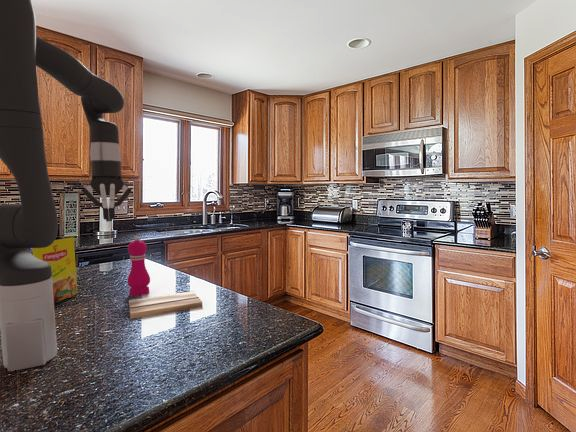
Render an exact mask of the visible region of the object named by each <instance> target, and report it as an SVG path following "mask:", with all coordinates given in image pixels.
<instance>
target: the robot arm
mask: <svg viewBox="0 0 576 432" xmlns="http://www.w3.org/2000/svg"><path fill="white" fill-rule="evenodd" d="M36 23H37V21H36V14H35V10H34V5H33V2H32V0H0V160H1V162H2V163H3V164H4V165H5V166H6V168H7V169H8V170H9V171H10V173H11V174H12V176H13V178H14V180H15V183H16V185H17V189H18V194H19V198H20V203H3V204H0V339H1V340H0V341H1V342H0V343H1V349H2V350H1V352H2V362H3V368H4V369H6V368H7V372H8V371H11V372H15V370H16V371H20V370H25V369H30V368H35V367H40V366H45V365H46V363H48V362H49V361H50V360H53V359H54V358H55V357H56V356H57V354H58V344H57V332H56V329H57V328H56V317H55V303H54V298H53V282H52V269H51V265H50V264H49V263H47V262H44V261H42V260H40V259H38V258H36V257H35V256H33V253H31V251H30V249H33V248H44V247H48V246H50V245H51V244H52V243H53V242H54V241H55V240H57V236H58V231H59V219H58V213H57V208H56V204H55V199H54V194H53V190H52V186H51V182H50V177H49V172H48V171H49V170H48V164H47V156H46V148H45V139H44V128H43V127H44V126H43V117H42V111H41V105H40V104H41V103H40V97H39V86H38V84H39V83H38V75H37V68H39V69H41V70H42V71H44V72H45V73H46V74H48V75H49V76H51V77H52V78H53V79H55V80H56V81H57V82H58V83H59V84H61V85H62V86H63V87H65V88H66V89H67V90H68V91H70V92H71V93H73V94H74V95H77V96H78V97H80V102H81V106H82V110H83V112H84V114H85V118H86V121H87V124H88V127H89V135H90V149H89V151H90V152H89V154H90V157H89V158H90V171H91V179H90V181H89V185H88V186H86V187H84V188H82V190H81V192H82V193H83V194H84V195H85V196H86V197H87V199H89V200H90V201H91V202H92V203H93V205H95V206H96V207H98V208H99V207H100V208H101V209H102V217H103V220H105V222H113V220H115V208H116V207H119V206H121V205H122V203H124V201H125V200H126V198H128V196H129V195H130V193H132V191H133V190H132V188H130V187H128V186H127V185H126V184H125V182H124V181H123V178H122V176H123V175H122V157H121V155H122V154H121V150H120V140H119V139H120V138H119V127H118V125H117V123H114V122H111V121H107V120H106V119H105V118H104V115H105V114H117V113H119V112H121V111H122V110H123V109H124V106H125V99H124V97H123V94H122V92H121V91H120V90H119V89H118V88H117V87H116V86H115V85H114V84H112V83H111V82H109V81H107V80H106V79H103V78H102V77H100V76H98V75H97V74H95V73H92V71H91V70H90V69H88V68H87V67H86V66H85V65H84V64H83V63H82V62H81V61H80V60H78V59H77V58H76V57H75V56H74V55H72V54H71V53H69V52H67V51H66V50H64V49H62V48H61V47H59V46H56V45H55V44H52V43H50V42H48V41H46V40H44V39H43V38H41V37H39V36H37V24H36ZM103 114H104V115H103ZM121 190H122V191H121ZM93 191H95V192H96V194H97V195H98V196H101V197H100V198H101V202H100V201H99V200H98V199H97V197H95V196H94V195H93ZM119 192H122V194H121V196H120V198H119V199H118V200H117V201H115V199H116V198H115V197H116V195H117V196H118V194H119ZM107 196H109V205H108V199H107Z"/></svg>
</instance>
